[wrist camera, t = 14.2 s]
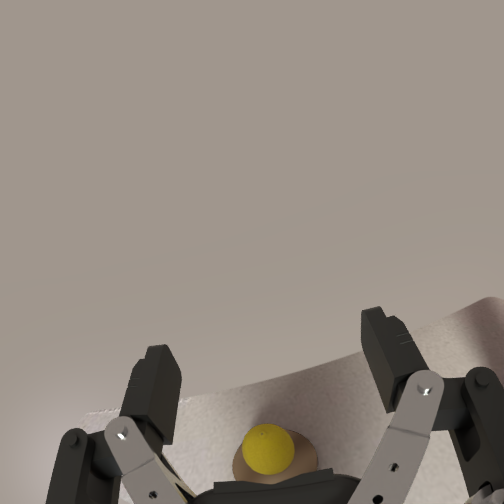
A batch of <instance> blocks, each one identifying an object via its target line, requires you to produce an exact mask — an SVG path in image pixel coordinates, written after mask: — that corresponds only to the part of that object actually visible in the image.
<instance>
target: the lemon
mask: <svg viewBox="0 0 504 504" xmlns="http://www.w3.org/2000/svg"><path fill="white" fill-rule="evenodd" d="M242 452H243V457H244V459H245V461H246V463H247V464H248V465H249V466H250V467H251V468H252V469H253V470H254V471H256V472H258V473H261V474H264V475H273V474H277V473H280V472H282V471H283V470H285V469H286V468H287V467H288V466H289V465H290V464H291V462H292V460H293V458H294V452H295V449H294V443H293V441H292V439H291V437H290V435H289V434H288V433H287V432H286V431H285V430H284V429H283V428H281V427H279V426H277V425H274V424H261V425H257V426H255V427H253V428H252V429H251V430H250V431H248V433H247V434H246V435H245V437H244V440H243V444H242Z"/></svg>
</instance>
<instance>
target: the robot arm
mask: <svg viewBox="0 0 504 504" xmlns="http://www.w3.org/2000/svg"><path fill="white" fill-rule="evenodd" d="M361 343H362V348H363V351H364V354H365V356H366V359H367V362H368V364H369V367H370V369H371V372H372V375H373V377H374V380H375V383H376V385H377V388H378V391H379V393H380V396H381V399H382V402H383V404H384V407H385V410H386V413H390V412H394V411H395V414H394V416H393V419H392V421H391V423H390V425H389V426H388V428H387V429H386V431H385V433H384V436H383V438H382V440H381V442H380V444H379V446H378V448H377V450H376V452H375V454H374V456H373V458H372V460H371V462H370V464H369V466H368V468H367V470H366V472H365V474H364V475H363V477H362V479H359V478H356V477H353V476H349V475H342V474H333V469H332V468H329V469H324V470H319V471H314V472H308V473H303V474H300V475H297V476H295V477H292V478H290V479H287V480H284V481H281V482H279V483H276V484H263V483H255V482H248V481H227V482H214V489H211V490H208V491H205V492H203V493H201V494H199V495H198V496H196V495H195V494H194V492H193V491H192V490H191V489H190V488H189V487H188V486H187V485H186V484H185V483H184V481H183V480H182V479H181V477H180V476H179V475H178V473H177V472H176V471H175V469H174V468H173V466H172V465H171V464H170V462H169V461H168V459H167V458H166V456H165V455H164V454H163V452H162V448H163V445H172V443H173V436H174V429H175V422H176V415H177V408H178V401H179V395H180V388H181V381H182V377H181V371H180V368H179V366H178V364H177V362H176V361H175V358H174V357H173V355H172V353H171V351H170V349H169V347H168V346H167V345H165V344H164V345H156V346H149V347H148V349H147V352H146V355H145V359H140V360H139V361H138V362H137V364H136V365H135V366H134V368H133V370H132V373H131V376H130V380H129V383H128V388H127V390H126V394H125V397H124V401H123V404H122V407H121V411H120V415H119V417H117V418H115V419H113V420H111V421H110V422H109V423H108V425H107V426H106V428H105V430H103V431H99V432H96V433H92V434H87V433H86V432H85V431H84V430H82V429H80V428H74V429H71V430H69V431H67V432H66V433H65V435H64V436H63V437H62V439H61V443H60V446H59V450H58V453H57V457H56V461H55V465H54V469H53V473H52V477H51V482H50V486H49V490H48V495H47V500H46V504H118V499H119V491H120V483H121V480H122V483H123V485H124V486H125V488H126V490H127V492H128V494H129V495H130V497H131V499H132V501H133V502H134V504H403V502H404V500H405V498H406V496H407V494H408V492H409V490H410V487H411V485H412V483H413V481H414V478H415V476H416V474H417V471H418V469H419V466H420V464H421V461H422V459H423V456H424V454H425V451H426V448H427V445H428V443H429V439H430V437H429V436H430V433H431V431H441V430H448V431H449V434H450V437H451V439H452V442H453V445H454V448H455V451H456V454H457V457H458V460H459V464H460V467H461V470H462V473H463V477H464V480H465V483H466V487H467V490H468V494H469V499H468V500H467V501H466V502H465V503H464V504H504V389H503V387H502V385H501V383H500V381H499V379H498V378H497V376H496V374H495V373H494V372H493V371H492V370H491V369H489V368H486V367H475V368H473V369H471V370H470V371H469V372H468V373H467V375H466V377H462V378H442V377H441V376H440V375H439V374H437V373H436V372H434V371H431V370H430V369H429V368H428V366H427V364H426V362H425V361H424V359H423V357H422V355H421V353H420V351H419V349H418V348H417V346H416V344H415V342H414V341H413V339H412V337H411V335H410V334H409V331H408V330H407V328H406V326H405V324H404V323H403V322H402V321H401V320H399V319H398V318H397V317H395V316H390V317H386V316H385V314H384V312H383V310H382V308H381V307H380V306H378V307H374V308H370V309H366V310H362V313H361ZM121 475H123V476H121Z"/></svg>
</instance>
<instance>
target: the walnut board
mask: <svg viewBox="0 0 504 504" xmlns="http://www.w3.org/2000/svg"><path fill="white" fill-rule="evenodd" d="M284 430H285V429H284ZM285 431H286V432H287V433H288V434H289V435H290V437H291V439H292V441H293V443H294V449H295V452H294V458H293V460H292V462H291V464H290V465H289V466H288V467H287V468H286V469H285V470H283V471H282V472H280V473H277V474H273V475H264V474H261V473H258V472H256V471H254V470H253V469H252V468H251V467H250V466H249V465H248V464H247V463H246V461H245V459H244V457H243V452H242V445H241V446H240V447H239V449H238V450H237V452H236V454H235V456H234V459H233V465H232V466H233V474H234V477H235V479H236V481H248V482H255V483H263V484H276V483H279V482H281V481H284V480H287V479H290V478H292V477H295V476H297V475H300V474H303V473H308V472H314V471H317V455H316V451H315V449H314V447H313V445H312V444H311V443H310V441H309V440H308V439H306V438H305V437H304V436H302V435H301V434H299V433H296V432H294V431H290V430H285Z"/></svg>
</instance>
